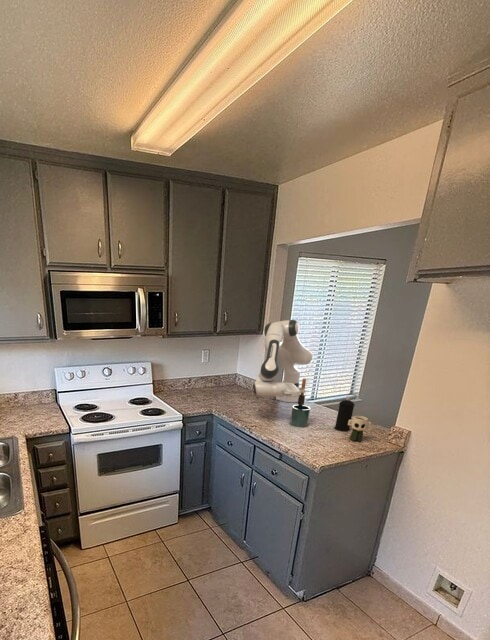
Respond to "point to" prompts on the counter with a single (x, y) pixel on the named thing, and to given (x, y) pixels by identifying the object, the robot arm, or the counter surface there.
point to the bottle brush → (302, 396)
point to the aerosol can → (344, 414)
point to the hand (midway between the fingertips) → (304, 390)
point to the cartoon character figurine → (358, 427)
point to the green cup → (300, 415)
